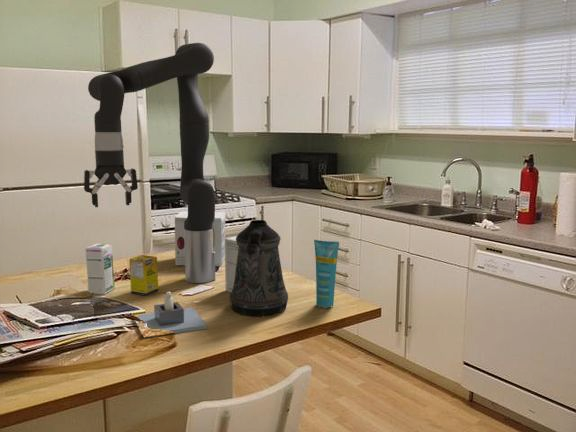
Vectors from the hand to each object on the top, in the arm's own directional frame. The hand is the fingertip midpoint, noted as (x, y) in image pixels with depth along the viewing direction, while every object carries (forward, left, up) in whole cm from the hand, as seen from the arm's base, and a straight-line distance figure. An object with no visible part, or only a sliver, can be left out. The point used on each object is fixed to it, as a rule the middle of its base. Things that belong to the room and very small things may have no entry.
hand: (112, 205), depth 154 cm
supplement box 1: (-9, -4, -28) cm, 30 cm away
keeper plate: (-10, +25, -28) cm, 39 cm away
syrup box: (+3, -10, -28) cm, 30 cm away
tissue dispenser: (-10, +25, -27) cm, 38 cm away
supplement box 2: (-35, -32, -28) cm, 55 cm away
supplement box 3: (-38, +7, -28) cm, 48 cm away
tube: (-54, +29, -28) cm, 67 cm away
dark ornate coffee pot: (-36, +24, -28) cm, 51 cm away
